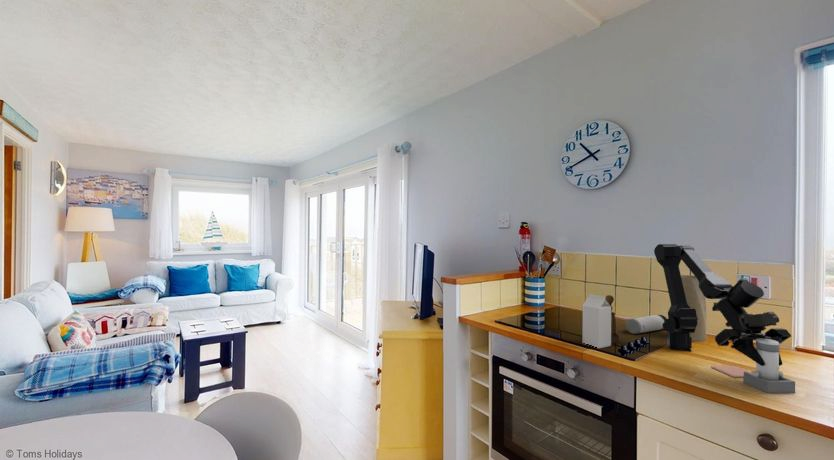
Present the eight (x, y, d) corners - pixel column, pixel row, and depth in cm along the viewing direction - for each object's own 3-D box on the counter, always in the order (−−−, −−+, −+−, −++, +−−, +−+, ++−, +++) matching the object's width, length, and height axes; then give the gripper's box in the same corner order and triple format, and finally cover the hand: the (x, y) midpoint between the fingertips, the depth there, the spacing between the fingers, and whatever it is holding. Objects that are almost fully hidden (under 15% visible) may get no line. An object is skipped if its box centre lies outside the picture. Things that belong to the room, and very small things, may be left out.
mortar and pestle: (600, 341, 143) (600, 296, 143) (599, 337, 149) (599, 293, 149) (619, 344, 141) (620, 297, 141) (617, 339, 147) (617, 294, 147)
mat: (711, 367, 117) (711, 366, 117) (735, 367, 117) (735, 365, 117) (734, 378, 109) (734, 376, 109) (759, 377, 109) (759, 376, 109)
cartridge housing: (742, 382, 106) (742, 367, 106) (770, 381, 106) (770, 367, 106) (766, 393, 99) (766, 377, 99) (796, 392, 99) (796, 377, 99)
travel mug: (642, 330, 150) (673, 325, 158) (633, 316, 154) (663, 311, 162) (631, 337, 155) (661, 331, 163) (622, 322, 158) (652, 318, 167)
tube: (671, 337, 150) (672, 276, 149) (680, 333, 156) (680, 274, 156) (701, 343, 142) (702, 279, 142) (709, 338, 148) (709, 277, 148)
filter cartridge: (750, 383, 105) (751, 338, 105) (766, 382, 105) (767, 338, 105) (767, 390, 100) (767, 343, 100) (784, 390, 101) (784, 343, 101)
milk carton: (598, 349, 135) (599, 297, 135) (582, 343, 141) (582, 294, 141) (611, 346, 138) (611, 296, 138) (594, 341, 144) (594, 293, 144)
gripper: (723, 301, 106) (760, 352, 95) (784, 301, 107) (828, 351, 96) (701, 321, 114) (732, 370, 103) (758, 321, 115) (795, 369, 104)
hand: (772, 365), depth 102 cm, fingers closed on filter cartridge, 5 cm apart
